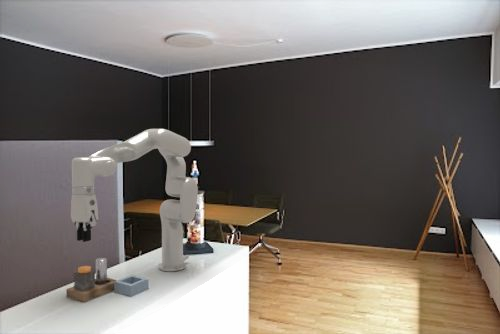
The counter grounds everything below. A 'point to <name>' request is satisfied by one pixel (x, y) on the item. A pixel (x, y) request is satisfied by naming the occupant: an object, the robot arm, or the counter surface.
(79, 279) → the socket block
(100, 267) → the grey smooth thick cylinder
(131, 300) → the counter surface
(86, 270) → the release button
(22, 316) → the counter surface
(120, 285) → the blue-grey square frame
